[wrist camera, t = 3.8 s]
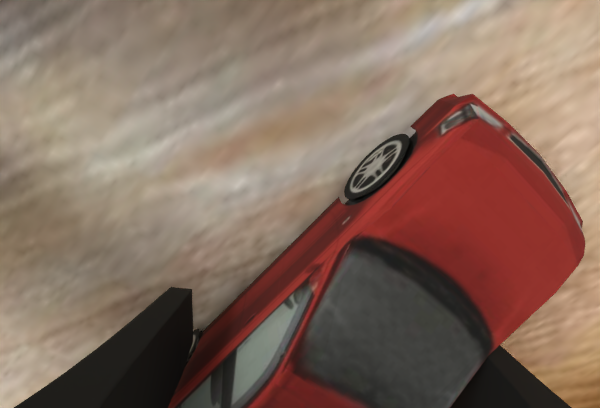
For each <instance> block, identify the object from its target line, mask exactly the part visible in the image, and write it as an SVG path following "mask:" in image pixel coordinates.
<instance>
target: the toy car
mask: <svg viewBox="0 0 600 408" xmlns="http://www.w3.org/2000/svg"><path fill="white" fill-rule="evenodd" d="M410 127H412V128H413V129H415V130H416V133H415V134H414V135H413V136H412V137H411V138H409V137H408V136H407V135H406V134H399V135H396V136H393V137H391V138H389V139H387V140H386V141H385V142H383V143H382V144H380V145H379V146H378V147H376V148H375V149H374V150H373V151H372V152H371V153H370V154H369V155H367V156H366V157H365V158H364V160H363V161H362V162H361V163H360V164H359V165H358V167H357V168H356V169H355V171H354V172H353V173H352V175H351V177H350V178H349V180H348V182H347V184H346V187H345V192H344V193H345V197H346V198H348V199H349V200H348V201H347V202H346V203H345V204H342V203H341V201H340V198H339V197H338V198H337V199H336V200H335V201H334V202H333V203H332V204H331V205H330V206H329V207H328V208H327V209H326V210H325V211H324V212H323V213H322V214H321V215H320V216H319V217H318V218H317V219H316V220H315V221H314V222H313V223H312V224H311V225H310V226H309V227H308V228H307V229H306V230H305V231H304V232H303V233H302V234H301V235H300V236H299V237H298V238H297V239H296V240H295V241H294V242H293V243H292V244H291V245H290V246H289V247H288V248H287V249H286V250H285V251H284V252H283V253H282V254H281V255H280V256H279V257H278V258H277V259H276V260H275V261H274V262H273V263H272V264H271V265H270V266H269V267H268V268H267V269H266V270H265V271H264V272H263V273H262V274H261V275H260V276H259V277H258V278H257V279H256V280H255V281H254V282H253V283H252V284H250V285H249V286H248V287H247V288H246V289H245V290H244V291H243V292H242V293H241V294H240V295H239V296H238V297H237V298H236V299H235V300H234V301H233V302H232V303H231V304H230V305H229V306H228V307H227V308H226V309H225V310H224V311H223V312H222V313H221V314H220V315H219V316H218V317H217V318H216V319H215V320H214V321H213V322H212V323H211V324H210V325H209V326H208V327H207V328H206V329H205V330H204V331H203V332H202V331H199V329H196V330H195V331H193V343H192V346H191V349H190V352H189V356H188V359H187V362H186V365H185V368H184V371H183V374H182V377H181V379H180V381H179V383H178V386H177V388H176V390H175V393H174V395H173V397H172V399H171V402H170V404H169V406H168V408H450V407H451V406H452V404H453V403H454V402H455V400H456V399H457V398H458V396H459V395H460V394H461V392H462V391H463V390H464V388H465V387H466V386H467V384H468V383H469V382H470V380H471V379H472V378H473V376H474V375H475V373H476V372H477V371H478V369H479V368H480V367H481V365H482V364H483V363H484V361H485V360H486V359H487V357H488V356H489V355H490V354H491V353H492V352H493V351H494V350H495V349H496V348H497V347H498V346H499V345H500V344H501V343H502V342H503V341H504V340H506V339H507V338H508V337H509V336H510V335H511V334H512V333H513V332H514V331H515V330H516V329H517V328H518V327H519V326H520V325H521V324H522V323H524V322H525V321H526V320H527V319H528V318H529V317H530V316H531V315H532V314H533V313H534V312H535V311H536V310H537V309H539V308H540V307H541V306H542V305H543V304H544V303H545V302H546V301H547V300H548V299H549V298H550V297H551V296H553V295H554V294H555V293H556V292H557V290H558V289H559V288H560V287H561V285H562V284H563V283H564V282H565V281H566V279H567V278H568V277H569V276H570V274H571V273H572V272H573V271H574V270H575V268H576V267H577V266H578V265H579V263H580V261H581V259H582V258H583V256H584V249H585V239H584V235H583V232H582V223H583V221H582V219H581V217H580V215H579V214H578V212H577V210H576V208H575V206H574V204H573V203H572V201H571V199H570V197H569V195H568V194H567V192H566V190H565V189H564V187H563V186H562V185H561V183H560V182H559V180H558V179H557V178H556V176H555V175H554V174H553V172H552V171H551V169H550V168H549V167H548V165H547V164H546V163H545V161H544V160H543V158H542V157H541V156H540V154H539V153H538V152H537V151H536V150H535V149H534V148H533V147H532V146H531V145H530V144H529V143H528V142H527V141H526V140H525V139H524V138H523V137H522V136H521V135H520V134H519V133H518V132H517V131H516V130H515V129H514V128H513V127H512V126H511V125H510V124H509V123H508V122H506V121H505V120H504V119H503V118H502V117H500V116H499V115H498V114H497V113H495V112H494V111H493V110H492V109H491V108H489V107H488V106H487V105H486V104H484V103H483V102H482V101H481V100H480V99H478V98H477V97H476V96H475V95H473V94H470V95H465V96H460V97H457V96H456V95H455V94H452V95H449V96H446V97H444V98H441V99H439V100H437V101H436V102H435V103H434V104H433V105H432V106H431V107H430V108H429V109H428V110H427V111H426V112H425V113H424V114H423V115H422V116H421V117H420V118H419V119H418V120H417V121H416V122H414V123H413V124H412V125H411V126H410Z"/></svg>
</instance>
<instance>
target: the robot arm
mask: <svg viewBox="0 0 600 408" xmlns="http://www.w3.org/2000/svg"><path fill="white" fill-rule="evenodd" d="M192 343H193V312H192V289H183V288H174V287H171V288H169V289H168V290H167V291H166V292H164V293H163V294H162V295H161V296H160V297H159V298H157V299H156V300H155V301H154V302H153V303H152V304H151V305H149V306H148V307H147V308H146V309H145V310H144V311H142V312H141V313H140V314H139V315H138V316H137V317H135V318H134V319H133V320H132V321H131V322H129V323H128V324H127V325H126V326H125V327H123V328H122V329H121V330H120V331H118V332H117V333H116V334H115V335H113V336H112V337H111V338H110V339H109V340H107V341H106V342H105V343H104V344H102V345H101V346H100V347H98V348H97V349H96V350H94V351H93V352H92V353H91V354H89V355H88V356H87V357H85V358H84V359H83V360H81V361H80V362H79V363H77V364H76V365H75V366H73V367H72V368H71V369H69V370H68V371H67V372H65V373H64V374H62V375H61V376H60V377H58V378H57V379H55V380H54V381H53V382H51V383H50V384H48V385H47V386H45V387H44V388H42V389H41V390H40V391H38V392H37V393H35V394H34V395H32V396H31V397H29V398H28V399H26V400H25V401H23V402H22V403H20V404H19V405H17V406H16V407H14V408H168V406H169V404H170V402H171V399H172V397H173V395H174V393H175V390H176V388H177V386H178V383H179V381H180V379H181V377H182V374H183V371H184V368H185V365H186V362H187V359H188V356H189V352H190V349H191V346H192ZM450 408H571V407H570V406H569V405H568V404H566V403H565V402H564V401H563V400H562V399H561V398H559V397H558V396H557V395H556V394H555V393H553V392H552V391H551V390H550V389H549V388H548V387H546V386H545V385H544V384H543V383H542V382H541V381H540V380H538V379H537V378H536V377H535V376H534V375H533V374H532V373H530V372H529V371H528V370H527V369H526V368H525V367H524V366H522V365H521V364H520V363H519V362H518V361H517V360H516V359H515V358H513V357H512V356H511V355H510V354H509V353H508V352H507V351H506V350H505V349H503V348H502V347H501V346H500V345H499V346H498V347H497V348H496V349H495V350H494V351H493V352H492V353H491V354H490V355H489V356H488V357H487V359H486V360H485V361H484V363H483V364H482V365H481V367H480V368H479V369H478V371H477V372H476V373H475V375H474V376H473V378H472V379H471V380H470V382H469V383H468V384H467V386H466V387H465V388H464V390H463V391H462V392H461V394H460V395H459V396H458V398H457V399H456V400H455V402H454V403H453V404H452V406H451V407H450Z"/></svg>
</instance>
